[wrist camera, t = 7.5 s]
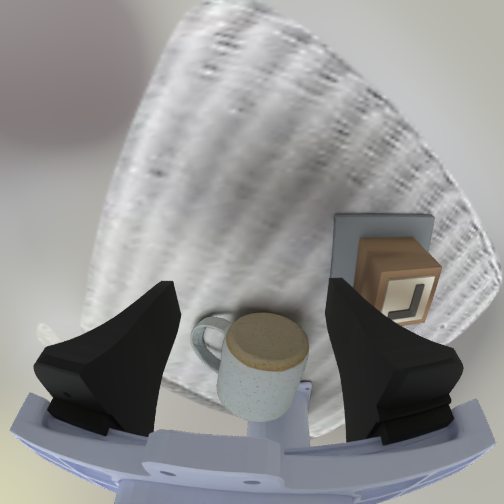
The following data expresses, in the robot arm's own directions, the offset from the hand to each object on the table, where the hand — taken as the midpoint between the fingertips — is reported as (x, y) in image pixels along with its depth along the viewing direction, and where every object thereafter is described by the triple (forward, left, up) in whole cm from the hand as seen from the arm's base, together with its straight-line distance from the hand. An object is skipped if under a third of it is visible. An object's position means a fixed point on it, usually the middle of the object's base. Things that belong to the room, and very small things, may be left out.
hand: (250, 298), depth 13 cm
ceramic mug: (-12, +1, -10) cm, 16 cm away
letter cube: (-4, -11, -9) cm, 14 cm away
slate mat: (-4, -11, -10) cm, 15 cm away
